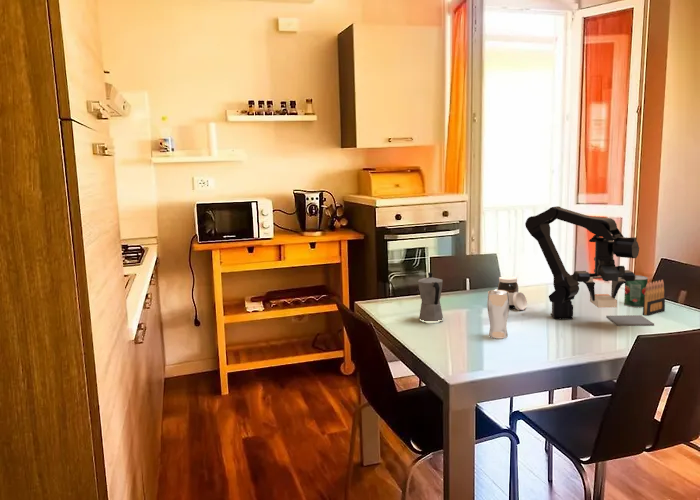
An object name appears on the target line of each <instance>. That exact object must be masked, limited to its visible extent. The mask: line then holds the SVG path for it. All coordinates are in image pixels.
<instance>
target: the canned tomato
mask: <svg viewBox="0 0 700 500" xmlns="http://www.w3.org/2000/svg"><path fill="white" fill-rule="evenodd" d="M648 279H649V278H648V277H647V276H643V275H636V274H635V281H626V283H624V298H623V299H624V300H623V301H624V302H623V303H624V306H626V307H630V308H638V307H639V308H643V303H644V301H645V291H646V285H647V283H649V281H648Z"/></svg>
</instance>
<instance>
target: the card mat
mask: <svg viewBox="0 0 700 500" xmlns="http://www.w3.org/2000/svg"><path fill="white" fill-rule="evenodd" d="M605 316H606V317H605V318H607V320H609V321H610V322H612V323H613V324H614V325H616V326H617V327H621V326H622V327H629V326H631V327H632V326H636V327H637V326H638V327H640V326H643V327H644V326H651V327H652V326H655V323H653V322H652V321H651V320H649V319H647V318H646V317H644V315H643V314H642V315H640V314H639V315H637V314H636V315H630V314H629V315H623V314H622V315H605Z"/></svg>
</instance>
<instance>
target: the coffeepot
mask: <svg viewBox="0 0 700 500" xmlns="http://www.w3.org/2000/svg"><path fill="white" fill-rule="evenodd" d="M417 283H418V290H419V295H420V299H421V304H420V309H419V311H420V312H419V318H418V320H419V319H421V320H424V321H438V320H442V318H443V319H444V317H443V316H444V315H443V311H442V310H443V309H442V303H441V301H440V300H441V296H442V288H443V279H442V278H441V279H440V278H436V277H433V272H428V277H423V278H419V279H418V281H417Z"/></svg>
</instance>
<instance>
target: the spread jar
mask: <svg viewBox="0 0 700 500" xmlns="http://www.w3.org/2000/svg"><path fill="white" fill-rule="evenodd" d="M498 280H499V282H498V284H497V290H505V291H508V292H509V308H513V309H517V310H518V311H524V310H526V308H527V306H528V300H527V297H526V295H525V294H524V293H523V292H521V291H519V284H518V277H517V276H513V275H512V276H511V275H510V276H509V275H508V276H507V275H504V276H499V277H498Z"/></svg>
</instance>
